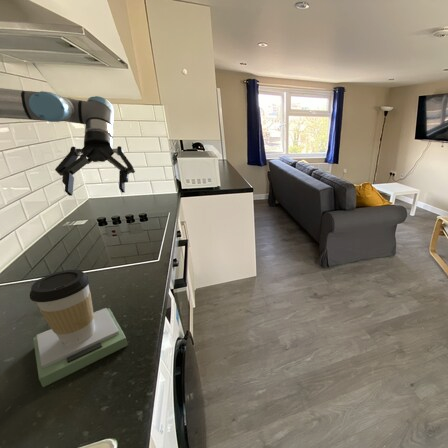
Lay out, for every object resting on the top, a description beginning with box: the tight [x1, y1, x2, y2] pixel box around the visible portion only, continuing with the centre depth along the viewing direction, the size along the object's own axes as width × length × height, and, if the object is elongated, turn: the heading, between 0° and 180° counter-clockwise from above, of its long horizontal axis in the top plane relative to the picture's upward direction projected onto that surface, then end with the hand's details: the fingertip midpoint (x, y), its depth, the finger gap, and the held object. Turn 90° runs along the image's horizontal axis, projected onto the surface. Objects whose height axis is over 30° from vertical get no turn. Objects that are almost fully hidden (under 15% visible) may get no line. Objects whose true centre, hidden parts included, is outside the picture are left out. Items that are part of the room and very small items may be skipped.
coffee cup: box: [29, 269, 95, 345], centre depth 58 cm, size 10×10×15 cm
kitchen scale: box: [32, 307, 129, 388], centre depth 61 cm, size 15×15×3 cm
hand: (96, 191), depth 79 cm, fingers open, 13 cm apart
